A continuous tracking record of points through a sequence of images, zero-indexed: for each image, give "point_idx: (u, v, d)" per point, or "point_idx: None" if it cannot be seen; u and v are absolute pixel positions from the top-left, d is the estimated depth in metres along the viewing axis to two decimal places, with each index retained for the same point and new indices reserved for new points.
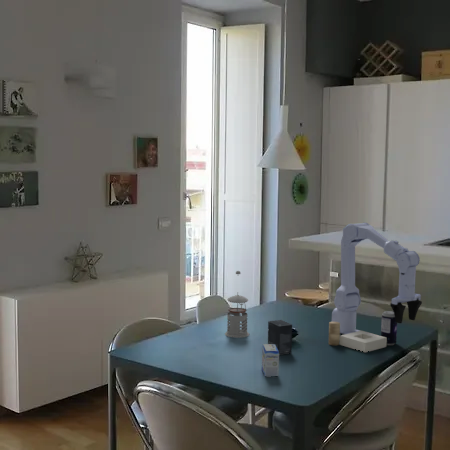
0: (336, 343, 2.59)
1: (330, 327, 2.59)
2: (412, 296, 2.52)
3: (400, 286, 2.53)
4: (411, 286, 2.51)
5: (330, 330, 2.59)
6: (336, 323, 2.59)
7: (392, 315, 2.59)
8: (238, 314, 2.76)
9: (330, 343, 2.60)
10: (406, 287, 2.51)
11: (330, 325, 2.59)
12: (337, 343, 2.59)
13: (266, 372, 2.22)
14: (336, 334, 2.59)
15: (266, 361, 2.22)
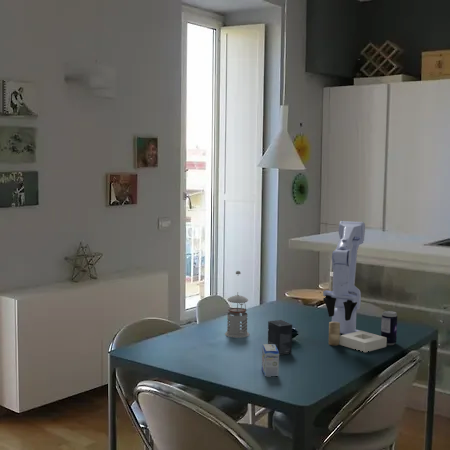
0: (336, 343, 2.59)
1: (330, 327, 2.59)
2: (334, 293, 2.57)
3: None
4: (334, 282, 2.57)
5: (330, 330, 2.59)
6: (336, 323, 2.59)
7: (392, 315, 2.59)
8: (238, 314, 2.76)
9: (330, 343, 2.60)
10: None
11: (330, 325, 2.59)
12: (337, 343, 2.59)
13: (266, 372, 2.22)
14: (336, 334, 2.59)
15: (266, 361, 2.22)
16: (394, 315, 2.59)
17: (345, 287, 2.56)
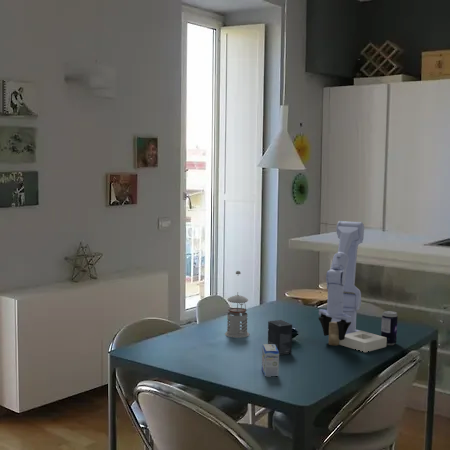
0: (336, 343, 2.59)
1: (330, 327, 2.59)
2: (329, 312, 2.58)
3: None
4: (328, 302, 2.58)
5: (330, 330, 2.59)
6: (336, 323, 2.59)
7: (392, 315, 2.59)
8: (238, 314, 2.76)
9: (330, 343, 2.60)
10: None
11: (330, 325, 2.59)
12: (337, 343, 2.59)
13: (266, 372, 2.22)
14: (336, 334, 2.59)
15: (266, 361, 2.22)
16: (394, 315, 2.59)
17: (339, 306, 2.57)
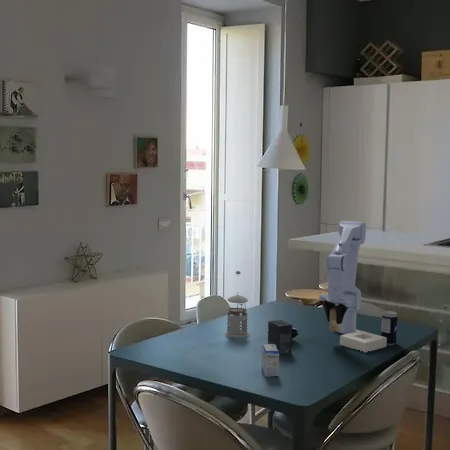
0: (337, 329, 2.59)
1: (331, 313, 2.59)
2: (329, 297, 2.57)
3: None
4: (328, 287, 2.58)
5: (331, 316, 2.59)
6: None
7: (392, 315, 2.58)
8: (238, 314, 2.76)
9: (331, 329, 2.59)
10: None
11: (331, 311, 2.59)
12: (338, 329, 2.59)
13: (266, 372, 2.22)
14: None
15: (266, 361, 2.22)
16: (394, 315, 2.59)
17: (339, 291, 2.56)
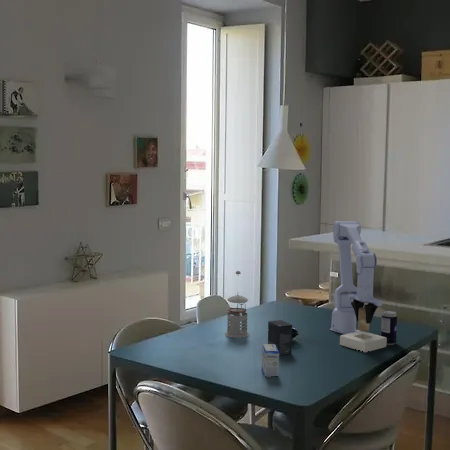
0: (366, 329, 2.56)
1: (360, 312, 2.57)
2: (359, 296, 2.55)
3: None
4: (358, 286, 2.56)
5: (360, 316, 2.57)
6: None
7: (392, 315, 2.59)
8: (238, 314, 2.76)
9: (360, 329, 2.57)
10: (357, 286, 2.57)
11: (360, 311, 2.57)
12: (367, 329, 2.57)
13: (266, 372, 2.22)
14: (365, 319, 2.56)
15: (266, 361, 2.22)
16: (394, 315, 2.59)
17: (369, 290, 2.54)
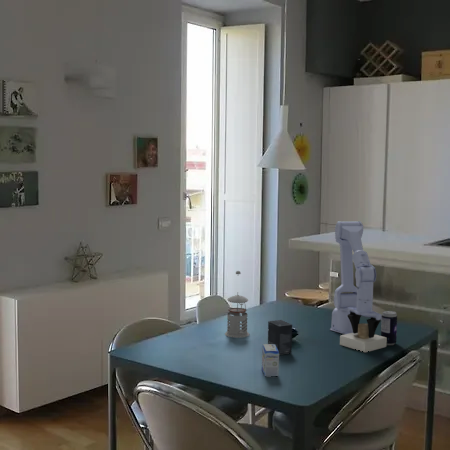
0: None
1: (359, 328, 2.57)
2: (358, 310, 2.56)
3: None
4: (357, 299, 2.56)
5: (359, 332, 2.57)
6: (365, 325, 2.58)
7: (392, 315, 2.59)
8: (238, 314, 2.76)
9: None
10: None
11: (359, 327, 2.57)
12: None
13: (266, 372, 2.22)
14: (365, 335, 2.57)
15: (266, 361, 2.22)
16: (394, 315, 2.59)
17: (369, 304, 2.55)
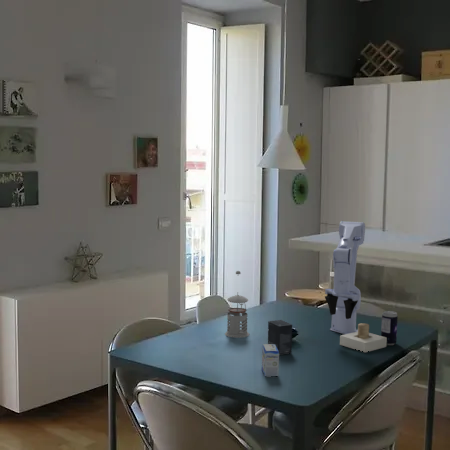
0: None
1: (359, 328, 2.57)
2: (335, 291, 2.58)
3: None
4: (334, 281, 2.58)
5: (359, 332, 2.57)
6: (365, 325, 2.58)
7: (392, 315, 2.59)
8: (238, 314, 2.76)
9: None
10: (334, 281, 2.60)
11: (359, 327, 2.57)
12: None
13: (266, 372, 2.22)
14: (365, 335, 2.57)
15: (266, 361, 2.22)
16: (394, 315, 2.59)
17: (345, 285, 2.56)
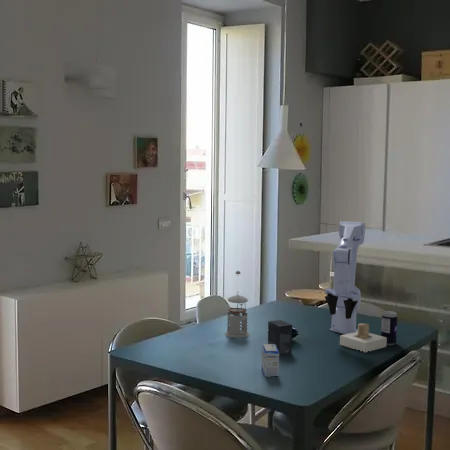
0: None
1: (359, 328, 2.57)
2: (335, 291, 2.58)
3: None
4: (334, 281, 2.58)
5: (359, 332, 2.57)
6: (365, 325, 2.58)
7: (392, 315, 2.58)
8: (238, 314, 2.76)
9: None
10: (334, 281, 2.60)
11: (359, 327, 2.57)
12: None
13: (266, 372, 2.22)
14: (365, 335, 2.57)
15: (266, 361, 2.22)
16: (394, 315, 2.59)
17: (345, 285, 2.56)
